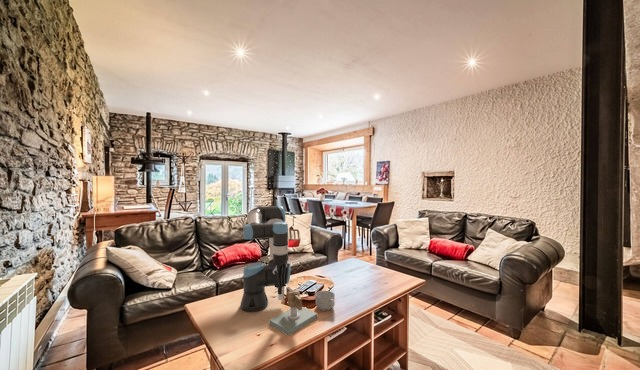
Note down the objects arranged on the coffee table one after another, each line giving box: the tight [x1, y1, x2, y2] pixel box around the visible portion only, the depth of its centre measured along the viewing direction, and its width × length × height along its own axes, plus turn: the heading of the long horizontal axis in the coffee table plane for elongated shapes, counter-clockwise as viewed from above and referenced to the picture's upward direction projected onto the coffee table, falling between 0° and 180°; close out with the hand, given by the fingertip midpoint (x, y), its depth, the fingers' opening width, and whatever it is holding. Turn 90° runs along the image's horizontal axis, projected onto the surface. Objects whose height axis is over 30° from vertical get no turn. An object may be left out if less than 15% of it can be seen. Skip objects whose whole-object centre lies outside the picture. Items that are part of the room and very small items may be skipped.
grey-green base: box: [268, 306, 319, 337], centre depth 132 cm, size 14×20×8 cm
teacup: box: [314, 290, 336, 312], centre depth 144 cm, size 14×11×8 cm
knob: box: [285, 286, 303, 311], centre depth 132 cm, size 6×17×6 cm, turn 28°
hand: (281, 299), depth 133 cm, fingers closed
